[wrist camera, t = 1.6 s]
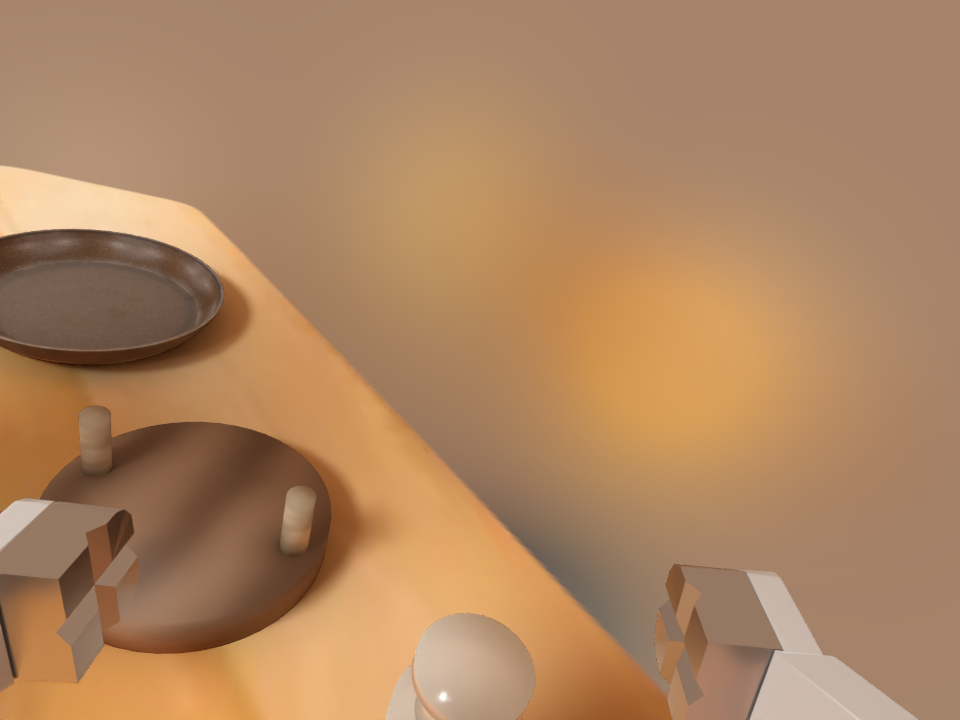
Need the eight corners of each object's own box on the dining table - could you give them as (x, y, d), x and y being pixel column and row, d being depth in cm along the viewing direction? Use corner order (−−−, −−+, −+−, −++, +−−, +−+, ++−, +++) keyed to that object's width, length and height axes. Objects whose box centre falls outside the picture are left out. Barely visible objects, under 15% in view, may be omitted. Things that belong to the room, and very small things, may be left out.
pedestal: (-41, 581, 36) (-59, 489, 32) (161, 422, 49) (162, 346, 46) (236, 701, 34) (246, 616, 31) (365, 502, 48) (381, 428, 44)
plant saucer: (267, 346, 62) (270, 314, 60) (1, 413, 47) (-4, 373, 45) (155, 249, 72) (155, 219, 70) (-93, 279, 57) (-100, 242, 55)
